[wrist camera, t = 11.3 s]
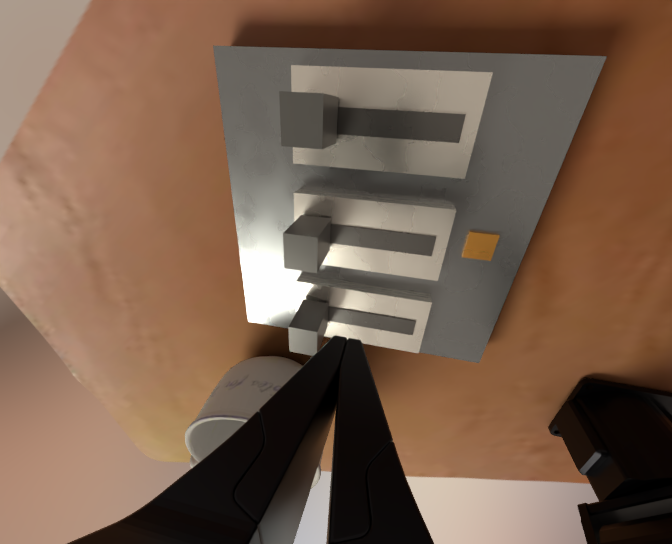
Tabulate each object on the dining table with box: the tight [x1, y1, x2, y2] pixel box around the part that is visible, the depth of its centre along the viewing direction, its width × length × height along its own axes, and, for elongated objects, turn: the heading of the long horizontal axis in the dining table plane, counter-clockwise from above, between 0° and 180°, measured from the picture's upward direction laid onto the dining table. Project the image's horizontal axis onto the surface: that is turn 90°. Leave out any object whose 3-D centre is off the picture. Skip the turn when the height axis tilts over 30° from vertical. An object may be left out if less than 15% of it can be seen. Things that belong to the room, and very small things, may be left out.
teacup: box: [185, 356, 323, 488], centre depth 26 cm, size 14×11×8 cm
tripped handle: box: [283, 215, 331, 273], centre depth 16 cm, size 2×2×3 cm
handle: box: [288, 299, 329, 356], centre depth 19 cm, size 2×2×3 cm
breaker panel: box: [213, 46, 607, 363], centre depth 18 cm, size 18×18×3 cm
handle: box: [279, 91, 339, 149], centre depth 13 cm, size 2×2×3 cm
